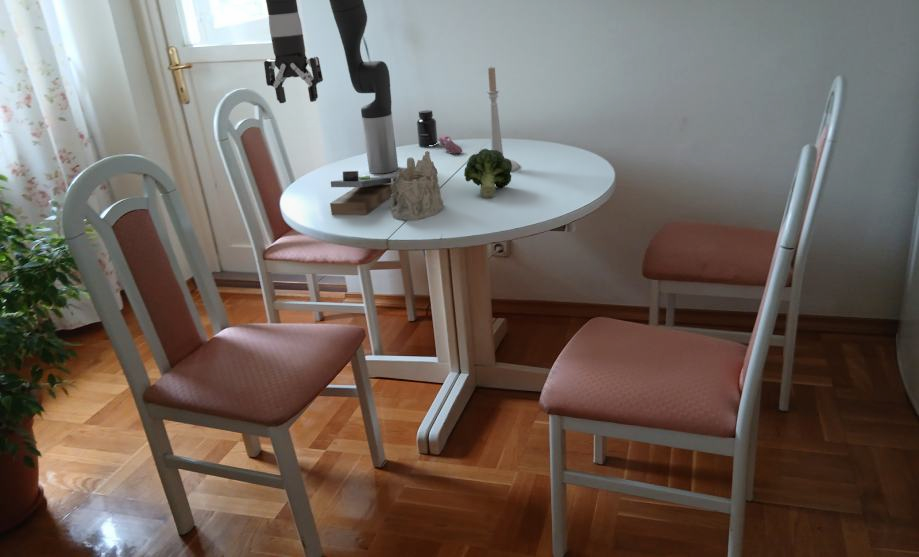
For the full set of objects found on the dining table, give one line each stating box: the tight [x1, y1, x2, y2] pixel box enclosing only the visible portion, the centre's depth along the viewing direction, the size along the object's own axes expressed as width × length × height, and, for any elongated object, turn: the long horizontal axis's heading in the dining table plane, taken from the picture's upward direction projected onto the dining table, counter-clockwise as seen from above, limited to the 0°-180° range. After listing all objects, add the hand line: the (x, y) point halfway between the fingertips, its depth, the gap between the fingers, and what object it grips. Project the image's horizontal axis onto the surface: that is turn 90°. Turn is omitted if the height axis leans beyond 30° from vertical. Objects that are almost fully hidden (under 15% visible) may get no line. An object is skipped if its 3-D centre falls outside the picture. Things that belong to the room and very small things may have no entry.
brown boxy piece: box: [329, 176, 397, 216], centre depth 200 cm, size 20×13×5 cm, turn 162°
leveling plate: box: [330, 170, 393, 188], centre depth 198 cm, size 18×9×4 cm, turn 162°
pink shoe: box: [438, 135, 463, 154], centre depth 250 cm, size 10×5×7 cm, turn 17°
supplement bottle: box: [416, 109, 439, 147], centre depth 262 cm, size 7×7×12 cm
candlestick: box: [486, 66, 520, 173], centre depth 219 cm, size 13×13×30 cm
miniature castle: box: [389, 150, 445, 222], centre depth 188 cm, size 16×16×15 cm
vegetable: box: [463, 148, 512, 199], centre depth 199 cm, size 12×13×15 cm
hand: (298, 102), depth 184 cm, fingers open, 8 cm apart
